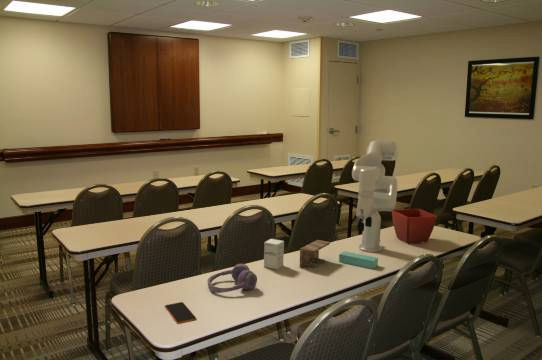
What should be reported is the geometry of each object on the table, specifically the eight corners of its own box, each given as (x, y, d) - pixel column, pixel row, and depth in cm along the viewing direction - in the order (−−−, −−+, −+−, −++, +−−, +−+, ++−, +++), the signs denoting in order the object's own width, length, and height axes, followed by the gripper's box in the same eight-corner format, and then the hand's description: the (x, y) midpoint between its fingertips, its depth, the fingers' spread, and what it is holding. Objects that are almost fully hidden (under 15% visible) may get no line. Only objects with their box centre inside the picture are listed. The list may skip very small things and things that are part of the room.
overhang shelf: (316, 257, 239) (317, 239, 237) (329, 260, 235) (329, 242, 233) (299, 267, 224) (300, 248, 222) (312, 270, 220) (313, 251, 219)
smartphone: (182, 303, 182) (182, 301, 182) (197, 320, 168) (197, 318, 168) (163, 307, 179) (163, 304, 178) (176, 325, 164) (176, 322, 164)
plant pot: (435, 244, 266) (438, 215, 263) (406, 246, 261) (408, 217, 258) (417, 235, 284) (418, 208, 282) (389, 237, 279) (390, 209, 277)
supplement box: (263, 267, 223) (263, 242, 221) (270, 262, 230) (270, 238, 228) (277, 270, 220) (277, 244, 218) (283, 265, 226) (284, 240, 224)
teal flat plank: (343, 258, 238) (344, 251, 237) (377, 265, 228) (378, 257, 228) (339, 261, 233) (339, 254, 233) (373, 269, 223) (373, 261, 223)
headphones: (247, 275, 211) (205, 287, 204) (245, 258, 209) (202, 269, 203) (261, 290, 194) (215, 303, 188) (258, 272, 192) (212, 285, 186)
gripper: (365, 190, 233) (364, 223, 236) (351, 195, 219) (350, 231, 221) (380, 192, 229) (378, 226, 232) (366, 197, 215) (365, 233, 217)
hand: (364, 228), depth 226 cm, fingers open, 9 cm apart
